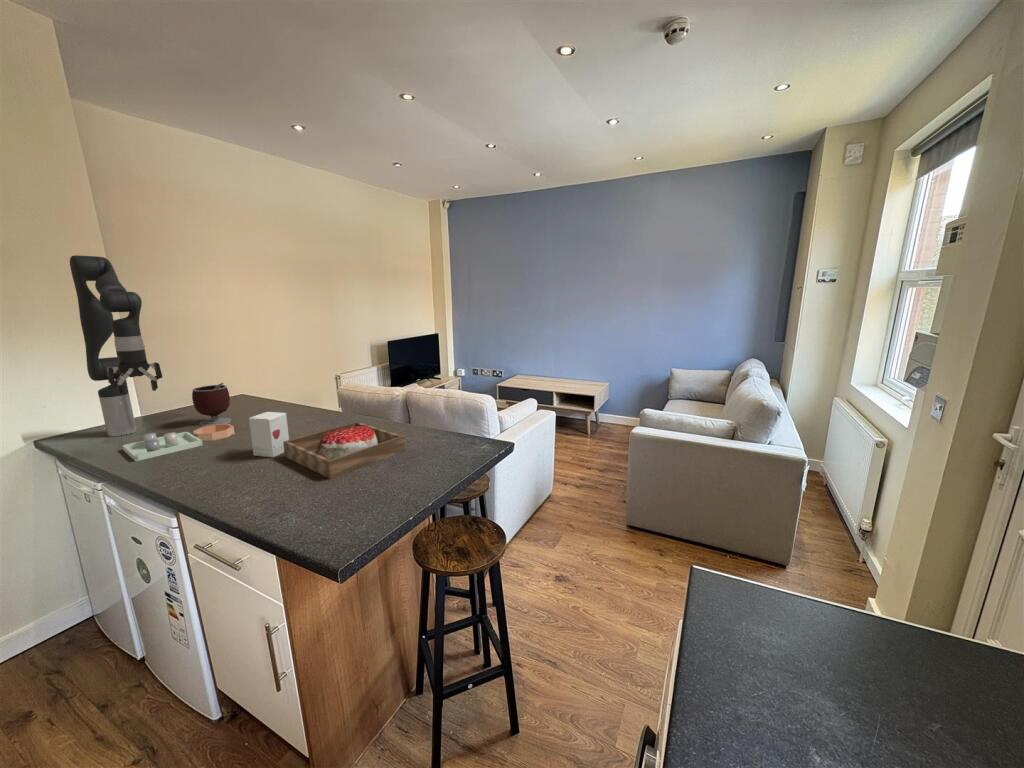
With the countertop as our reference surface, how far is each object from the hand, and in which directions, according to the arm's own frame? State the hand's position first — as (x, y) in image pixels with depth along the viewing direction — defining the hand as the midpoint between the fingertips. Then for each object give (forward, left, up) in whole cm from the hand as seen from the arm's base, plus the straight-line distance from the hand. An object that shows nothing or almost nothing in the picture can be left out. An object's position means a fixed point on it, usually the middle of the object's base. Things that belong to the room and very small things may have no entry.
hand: (139, 392), depth 147 cm
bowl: (-2, +21, -24) cm, 32 cm away
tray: (-1, +4, -24) cm, 24 cm away
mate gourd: (-25, +29, -24) cm, 45 cm away
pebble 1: (-6, +2, -23) cm, 24 cm away
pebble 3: (-1, +7, -23) cm, 24 cm away
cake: (+59, +44, -25) cm, 77 cm away
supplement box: (+35, +28, -24) cm, 51 cm away
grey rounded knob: (+4, 0, -23) cm, 23 cm away
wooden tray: (+59, +44, -24) cm, 78 cm away
